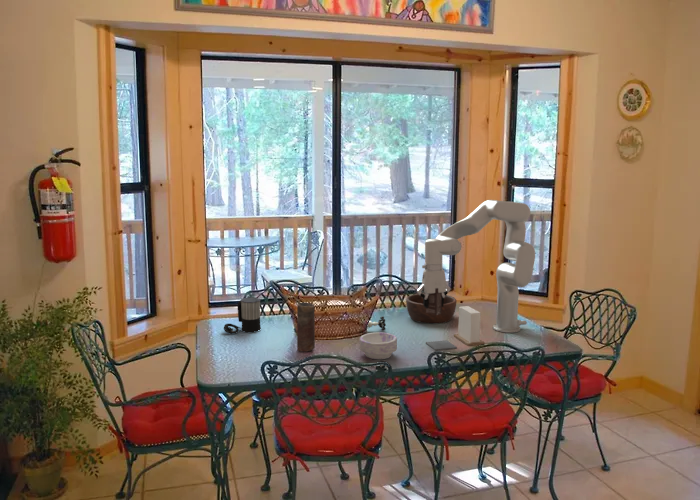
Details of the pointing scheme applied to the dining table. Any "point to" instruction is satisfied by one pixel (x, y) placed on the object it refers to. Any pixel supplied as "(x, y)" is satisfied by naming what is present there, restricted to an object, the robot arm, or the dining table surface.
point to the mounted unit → (469, 326)
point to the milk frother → (247, 316)
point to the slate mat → (441, 345)
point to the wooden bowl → (420, 315)
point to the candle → (305, 327)
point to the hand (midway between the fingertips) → (433, 306)
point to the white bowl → (378, 345)
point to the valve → (380, 323)
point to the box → (434, 303)
